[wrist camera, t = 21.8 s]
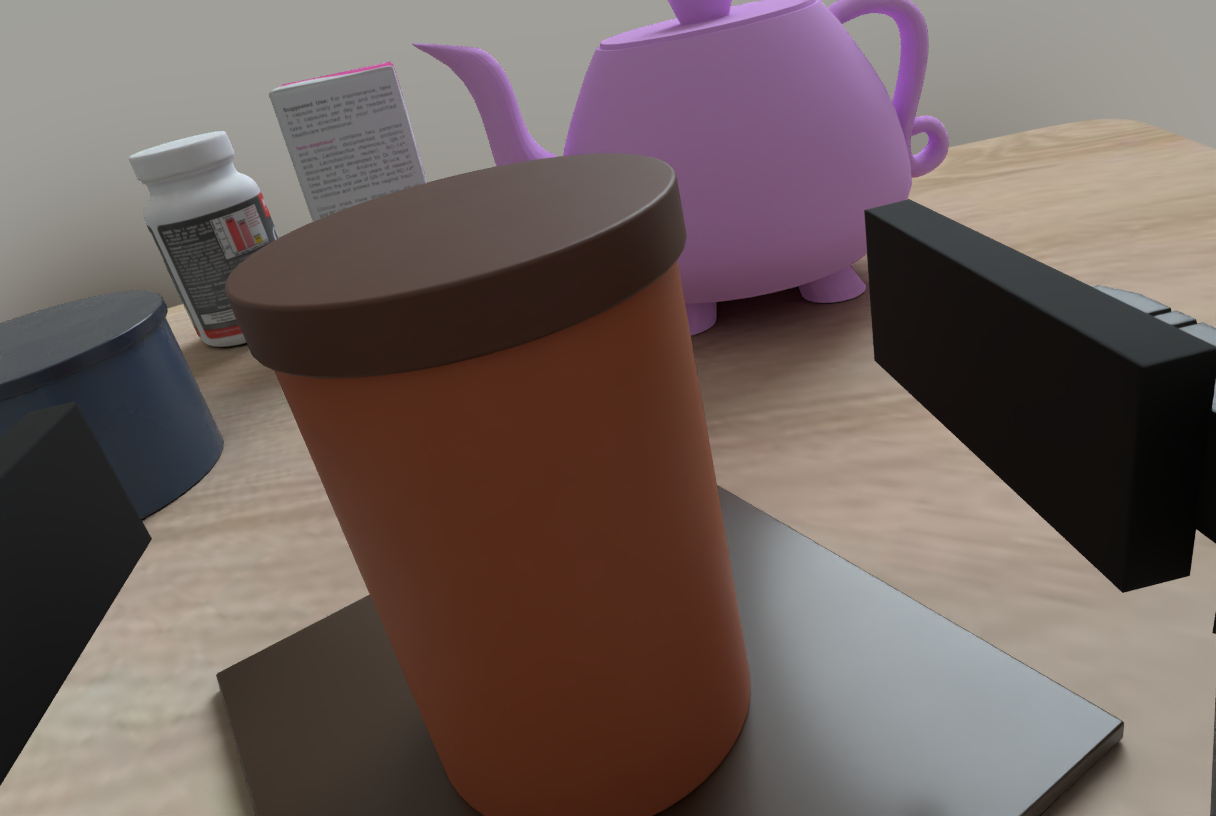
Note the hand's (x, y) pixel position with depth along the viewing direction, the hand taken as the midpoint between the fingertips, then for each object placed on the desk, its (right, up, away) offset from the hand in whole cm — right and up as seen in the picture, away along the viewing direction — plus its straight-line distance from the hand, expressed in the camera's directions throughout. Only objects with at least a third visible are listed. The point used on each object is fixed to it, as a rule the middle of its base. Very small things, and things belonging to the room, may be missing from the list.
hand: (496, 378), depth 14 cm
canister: (+2, -6, +3) cm, 7 cm away
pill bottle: (-17, +4, +32) cm, 37 cm away
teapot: (+7, +5, +23) cm, 24 cm away
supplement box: (-9, +5, +31) cm, 33 cm away
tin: (-17, -3, +18) cm, 25 cm away
